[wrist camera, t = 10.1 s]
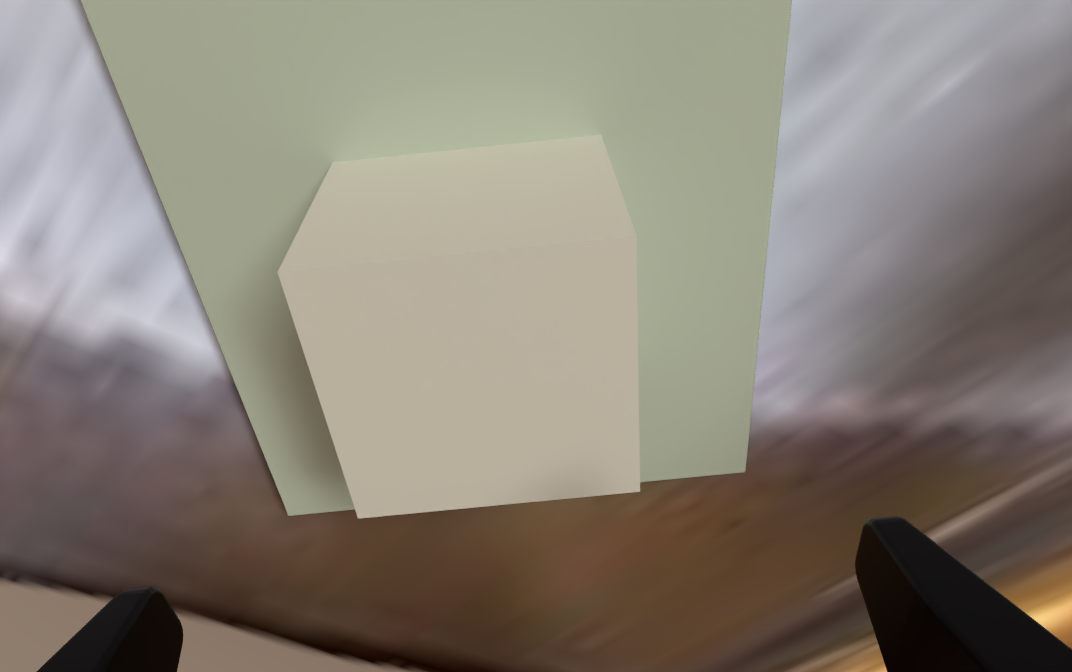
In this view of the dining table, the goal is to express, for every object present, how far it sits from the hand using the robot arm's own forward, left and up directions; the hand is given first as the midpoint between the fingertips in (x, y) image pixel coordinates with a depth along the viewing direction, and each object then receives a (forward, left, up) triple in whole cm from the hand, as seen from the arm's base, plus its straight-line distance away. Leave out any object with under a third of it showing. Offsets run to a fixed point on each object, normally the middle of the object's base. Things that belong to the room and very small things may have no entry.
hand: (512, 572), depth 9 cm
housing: (+1, +1, -10) cm, 10 cm away
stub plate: (+1, +1, -11) cm, 11 cm away
